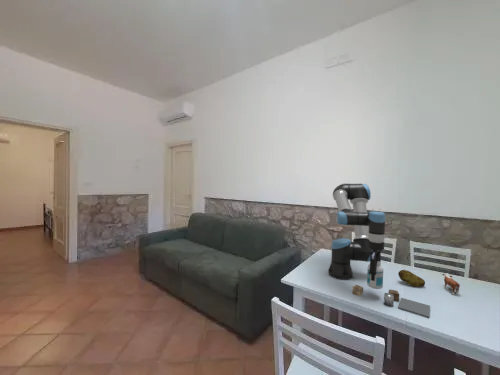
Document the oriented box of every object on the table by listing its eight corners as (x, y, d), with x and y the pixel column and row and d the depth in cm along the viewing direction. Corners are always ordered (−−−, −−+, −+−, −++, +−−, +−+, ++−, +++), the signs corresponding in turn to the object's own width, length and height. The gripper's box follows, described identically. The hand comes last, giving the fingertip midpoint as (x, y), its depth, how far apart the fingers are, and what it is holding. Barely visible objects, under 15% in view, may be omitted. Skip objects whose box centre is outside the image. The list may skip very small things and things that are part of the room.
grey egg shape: (383, 304, 116) (383, 294, 116) (385, 301, 119) (385, 292, 119) (392, 307, 113) (393, 297, 113) (394, 304, 116) (394, 294, 116)
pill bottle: (364, 282, 127) (365, 258, 127) (378, 283, 127) (378, 259, 127) (371, 289, 120) (371, 264, 119) (385, 289, 120) (386, 264, 119)
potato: (422, 290, 131) (423, 276, 131) (396, 283, 140) (397, 270, 140) (425, 286, 137) (426, 272, 137) (400, 279, 146) (400, 266, 146)
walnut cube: (390, 300, 120) (390, 292, 120) (388, 296, 124) (388, 289, 124) (399, 301, 119) (399, 294, 119) (397, 298, 123) (397, 290, 123)
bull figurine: (449, 286, 137) (449, 272, 137) (461, 296, 125) (461, 281, 124) (440, 285, 139) (440, 271, 138) (451, 295, 126) (451, 280, 126)
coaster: (397, 308, 112) (397, 307, 112) (401, 299, 121) (401, 297, 121) (428, 318, 105) (429, 316, 105) (430, 307, 114) (430, 305, 114)
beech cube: (352, 293, 127) (352, 286, 127) (355, 291, 130) (355, 284, 129) (359, 296, 124) (359, 289, 124) (363, 294, 127) (363, 287, 126)
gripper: (380, 247, 112) (378, 293, 113) (387, 238, 128) (386, 278, 129) (363, 244, 117) (362, 288, 118) (372, 236, 133) (371, 275, 134)
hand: (374, 283), depth 124 cm, fingers closed on pill bottle, 7 cm apart
